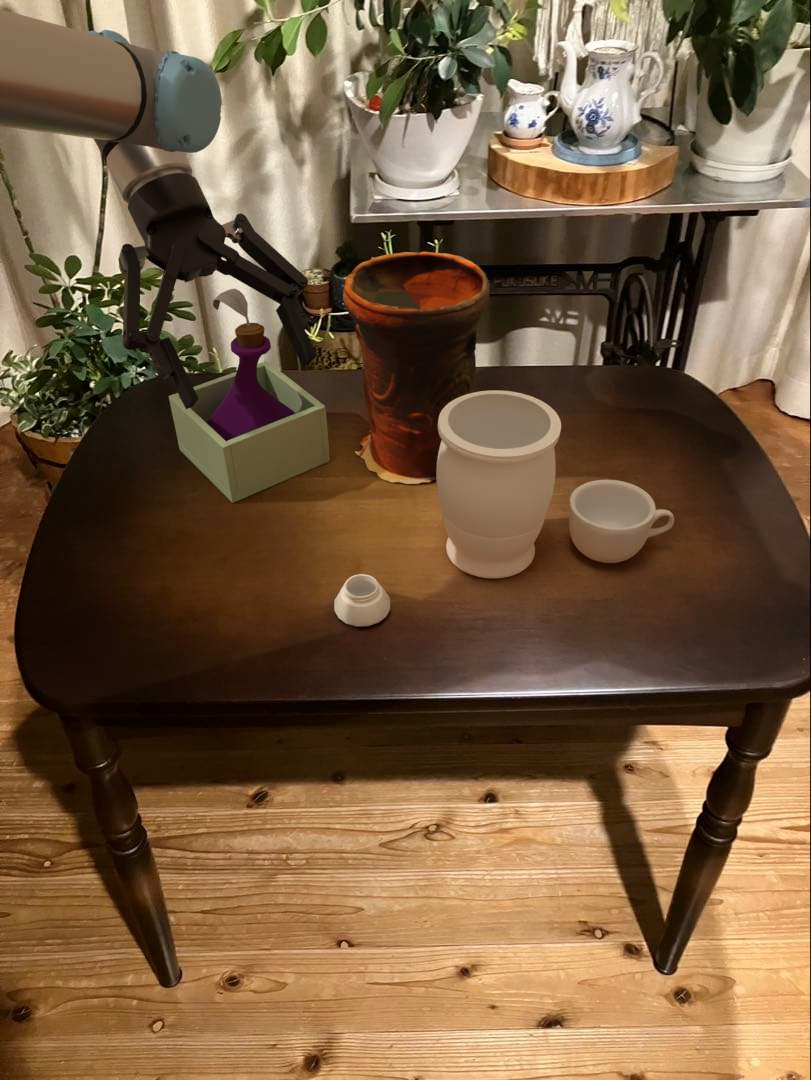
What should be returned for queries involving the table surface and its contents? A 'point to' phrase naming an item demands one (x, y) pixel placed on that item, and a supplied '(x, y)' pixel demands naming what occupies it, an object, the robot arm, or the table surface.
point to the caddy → (253, 436)
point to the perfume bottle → (246, 379)
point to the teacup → (613, 520)
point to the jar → (495, 479)
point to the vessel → (413, 352)
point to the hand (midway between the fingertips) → (253, 382)
